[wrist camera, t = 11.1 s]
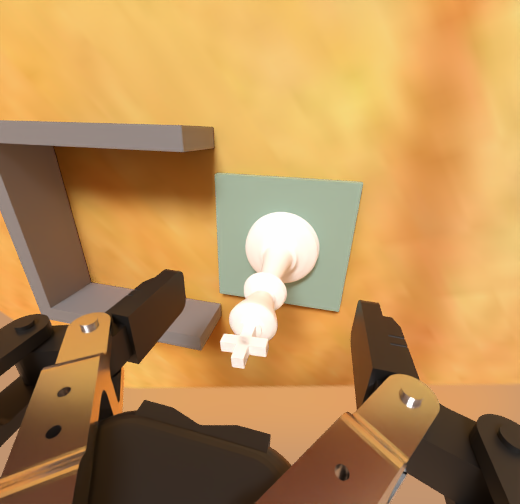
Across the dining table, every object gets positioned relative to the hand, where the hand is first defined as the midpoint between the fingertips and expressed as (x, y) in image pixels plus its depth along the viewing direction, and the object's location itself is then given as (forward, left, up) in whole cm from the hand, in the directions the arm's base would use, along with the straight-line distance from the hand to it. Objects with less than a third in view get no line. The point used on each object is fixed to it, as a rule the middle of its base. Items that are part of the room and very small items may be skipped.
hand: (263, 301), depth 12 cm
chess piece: (0, 0, -7) cm, 7 cm away
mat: (0, 0, -7) cm, 7 cm away
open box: (+11, 0, -7) cm, 13 cm away
